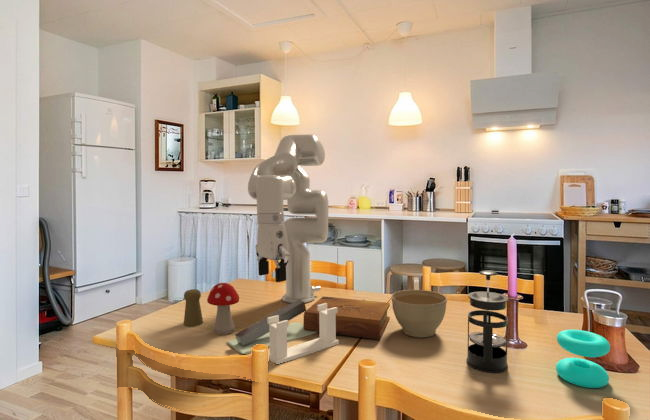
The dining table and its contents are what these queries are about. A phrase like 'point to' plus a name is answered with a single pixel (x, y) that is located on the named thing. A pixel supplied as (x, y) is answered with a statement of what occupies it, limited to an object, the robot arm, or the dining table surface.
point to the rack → (327, 339)
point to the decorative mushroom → (223, 306)
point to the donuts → (582, 369)
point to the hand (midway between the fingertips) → (272, 277)
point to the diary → (351, 317)
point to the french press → (487, 331)
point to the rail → (263, 327)
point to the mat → (293, 333)
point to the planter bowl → (419, 311)
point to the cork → (192, 308)
